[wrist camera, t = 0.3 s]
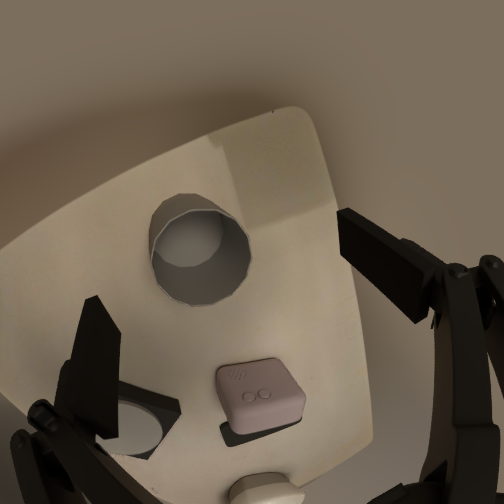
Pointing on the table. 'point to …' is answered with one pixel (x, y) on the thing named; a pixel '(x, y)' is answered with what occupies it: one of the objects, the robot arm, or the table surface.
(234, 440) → the phone
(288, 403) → the electronic device
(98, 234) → the table surface
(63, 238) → the table surface
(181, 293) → the cup
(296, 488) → the bowl
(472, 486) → the robot arm
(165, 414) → the scale
